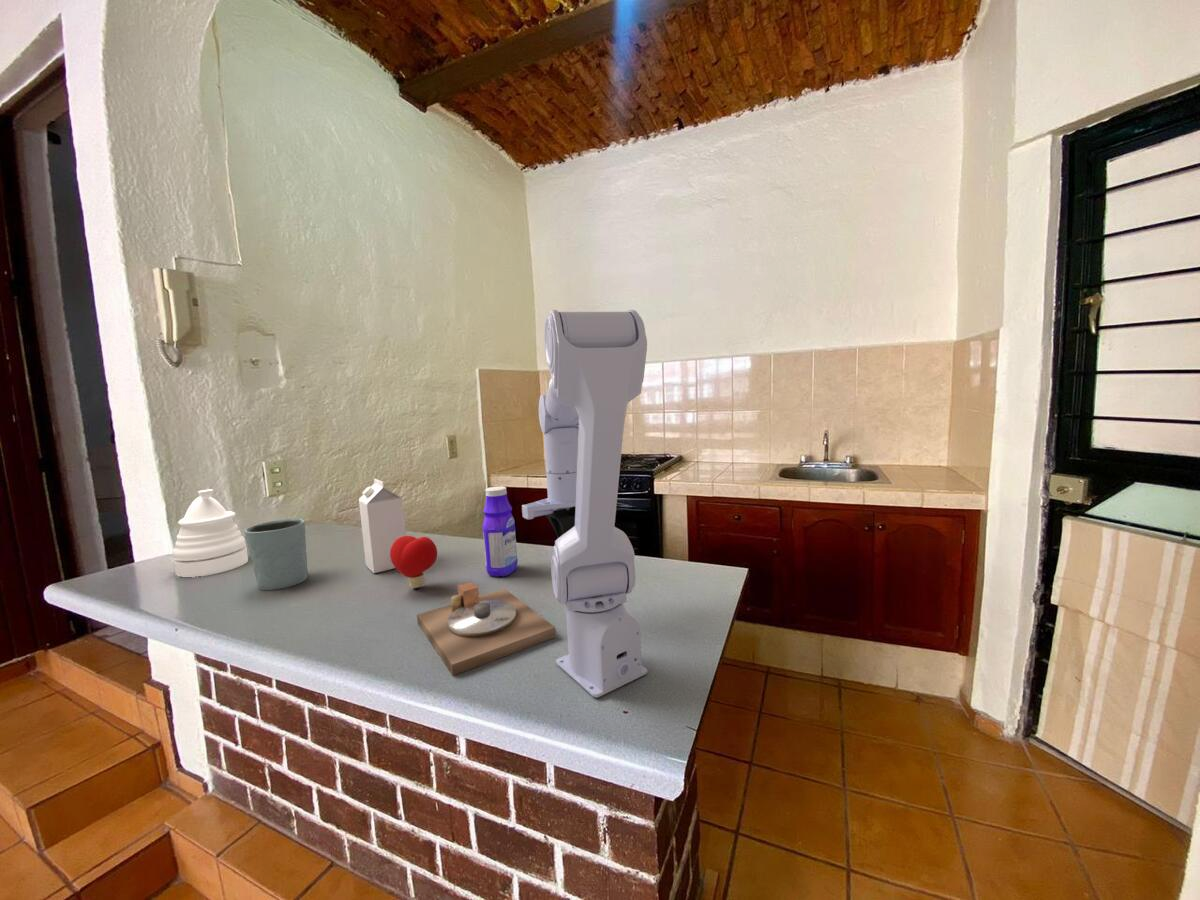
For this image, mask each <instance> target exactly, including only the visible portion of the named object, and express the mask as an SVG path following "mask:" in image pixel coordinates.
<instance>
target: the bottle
mask: <svg viewBox="0 0 1200 900" xmlns="http://www.w3.org/2000/svg"><path fill="white" fill-rule="evenodd" d="M508 499H509V498H508V491H507V487H506V486H502V485H501V486H490V487H486V489H485V506H484V508H483V510H482V512H483V514H484V517H483V518H484V519H483V522H482V534H483V546H484V558H485V559H484V560H485V561H484V562H485V568H486V573H487V575H489V576H490V577H498V576H499V577H500V576H502V577H507V576H509V575H511V574H512V573H514V571H515V570H516V569H517V566H518V564H519V563H518V561H519V560H518V549H517V539H516V526H515V523H516V522H515V521H516V520H515V519H514V516H513V514H512V510H513V507H512V506H511V504H510V502H509V500H508ZM500 578H501V577H500Z"/></svg>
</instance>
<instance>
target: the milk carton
mask: <svg viewBox="0 0 1200 900" xmlns="http://www.w3.org/2000/svg"><path fill="white" fill-rule="evenodd" d="M403 501H404V500H403V497H401V496H400V495H398V494H397V493H395V492H393V491H392V490H390V489H388V488H386V487H385V484H384V481H382V480H380V479H377V478H373V484H372V485H371V486H367V487H366V488H365V489H364V490H363V491H362V496H360V497H359V499H358V504H359V506H358V507H359V513H360V521H361V522H360V524H361V532H362V541H363V542H362V543H363V551H364V552H363V553H364V561H365V567H367V569H369V570H370V571H371V573H373V574H377V573H381V572H386V571H389V570H392V569H393V570H394V569H396V568H395V567H394V565H393V564H392V562H391V558H390V550H391V547H392V544H393V543H394V542H395V541H396V540H397V539H398V538H400V537H403V536H407V533H406V523H405V513H404V510H405V509H404V502H403Z"/></svg>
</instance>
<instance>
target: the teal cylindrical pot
mask: <svg viewBox="0 0 1200 900" xmlns="http://www.w3.org/2000/svg"><path fill="white" fill-rule="evenodd" d="M244 534H245V540H246V544H247V545H248V546H247V547H248V551H249V555H250V560H251V562H252V568H253V571H254V574H255V579H256V584H257V587H258V589H259V590H262V591H274V590H281V589H287V588H290V587H292V586H293V587H294V586H297V585H299V584H302V583H303V582H305V581H306V580H307V579H308V577H309V570H308V556H307V541H306V540H307V539H306V521H305V519H302V518H287V519H280V520H279V519H278V520H272V521H268V522H264V523H259V524H258V523H257V524H255V525H252V526H249V527H248V528H246V529H244Z"/></svg>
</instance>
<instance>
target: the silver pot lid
mask: <svg viewBox="0 0 1200 900" xmlns="http://www.w3.org/2000/svg"><path fill="white" fill-rule="evenodd" d="M479 594H480V593H479V587H478V586H477V585H476V584H475V583H474V582H472V581H470V582H466V583H462V584H458V585H457V595H461V599H462V607H460V608H459V609H457V610H455V611H454V612H453V613H452V614H451V615H450V616H449V618H448V627H449V630H450V631H451V632H452V633H454V634H456V635H459V636H465V637H478V636H485V635H489V634H493V633H496V632H499V631H501V630H503V629H505V628H507V627H508V626H510V625H511V624H512V623H513V622H514V621H515V619H516V609H515V607H514V605H512V604H511V603H509V602H506V601H501V600H485V601H479V596H480V595H479ZM479 603H489V604H490V614H489V615H488V616H485V617H475V616H474V606H475V605H476V604H479Z"/></svg>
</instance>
